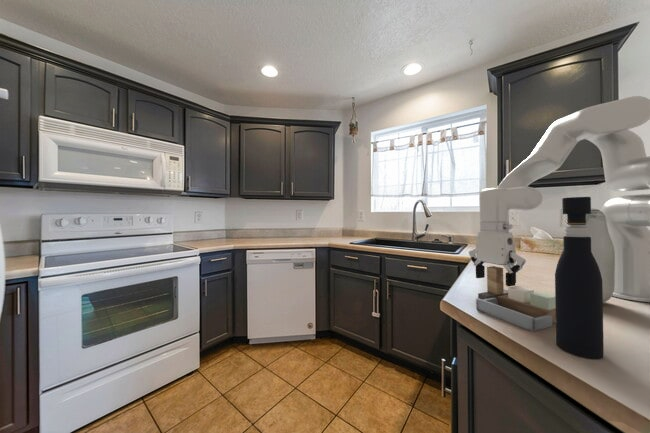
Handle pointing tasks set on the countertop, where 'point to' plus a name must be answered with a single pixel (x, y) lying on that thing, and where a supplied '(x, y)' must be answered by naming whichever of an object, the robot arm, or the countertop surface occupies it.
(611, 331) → the countertop surface
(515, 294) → the cream block
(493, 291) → the rubber stamp
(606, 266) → the white tall rounded piece
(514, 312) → the tray
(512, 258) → the robot arm
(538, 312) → the walnut plate
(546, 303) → the sage tile
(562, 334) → the black bottle
